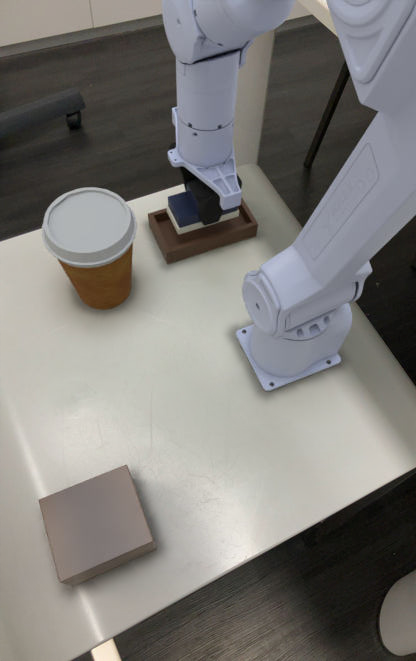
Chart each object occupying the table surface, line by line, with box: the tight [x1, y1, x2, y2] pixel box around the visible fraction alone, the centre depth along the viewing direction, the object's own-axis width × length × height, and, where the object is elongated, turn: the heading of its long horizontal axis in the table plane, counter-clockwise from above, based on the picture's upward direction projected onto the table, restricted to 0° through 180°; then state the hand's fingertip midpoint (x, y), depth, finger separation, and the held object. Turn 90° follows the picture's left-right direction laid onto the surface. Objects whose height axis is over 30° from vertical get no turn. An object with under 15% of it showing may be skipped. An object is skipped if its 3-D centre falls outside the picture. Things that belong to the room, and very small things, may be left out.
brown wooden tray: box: [147, 196, 259, 265], centre depth 65 cm, size 12×7×2 cm, turn 113°
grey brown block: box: [38, 464, 157, 587], centre depth 46 cm, size 8×7×5 cm
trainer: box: [165, 179, 239, 235], centre depth 61 cm, size 8×4×5 cm, turn 113°
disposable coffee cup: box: [41, 186, 138, 310], centre depth 56 cm, size 10×10×12 cm
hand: (203, 208), depth 62 cm, fingers closed on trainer, 4 cm apart
